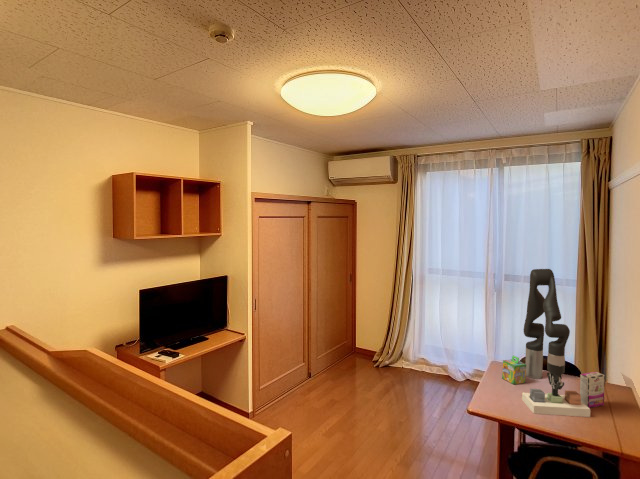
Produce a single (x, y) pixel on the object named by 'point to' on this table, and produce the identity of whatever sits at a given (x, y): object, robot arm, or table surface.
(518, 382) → the chalk box
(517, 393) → the table surface
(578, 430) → the table surface
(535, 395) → the slate block
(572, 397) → the terracotta block
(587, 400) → the candy bar box
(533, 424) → the table surface
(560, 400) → the sage block
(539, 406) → the board
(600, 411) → the table surface
